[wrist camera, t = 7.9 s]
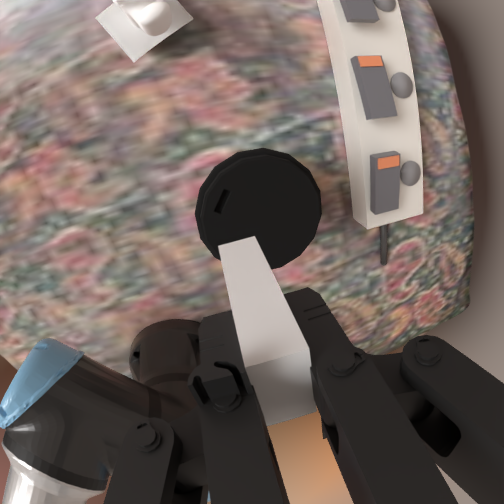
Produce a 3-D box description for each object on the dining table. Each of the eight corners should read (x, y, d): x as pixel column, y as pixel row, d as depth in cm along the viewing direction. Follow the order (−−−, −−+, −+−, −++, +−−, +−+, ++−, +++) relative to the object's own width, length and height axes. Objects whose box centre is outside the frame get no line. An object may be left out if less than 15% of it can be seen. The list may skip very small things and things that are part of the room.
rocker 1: (391, 117, 30) (398, 115, 29) (366, 120, 30) (372, 118, 29) (376, 58, 28) (382, 54, 27) (350, 59, 28) (355, 55, 27)
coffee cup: (179, 209, 36) (175, 254, 26) (217, 121, 33) (229, 127, 22) (262, 239, 40) (290, 291, 29) (302, 160, 36) (348, 184, 26)
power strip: (405, 255, 45) (421, 268, 42) (356, 272, 45) (369, 287, 41) (369, -30, 26) (386, -39, 22) (306, -34, 25) (319, -47, 22)
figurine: (151, -19, 24) (131, -84, 10) (199, 34, 28) (205, -14, 15) (98, 19, 25) (47, -25, 11) (145, 73, 29) (113, 50, 16)
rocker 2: (393, 204, 36) (399, 209, 35) (370, 210, 36) (376, 215, 35) (394, 150, 32) (401, 154, 31) (369, 154, 32) (376, 158, 31)
